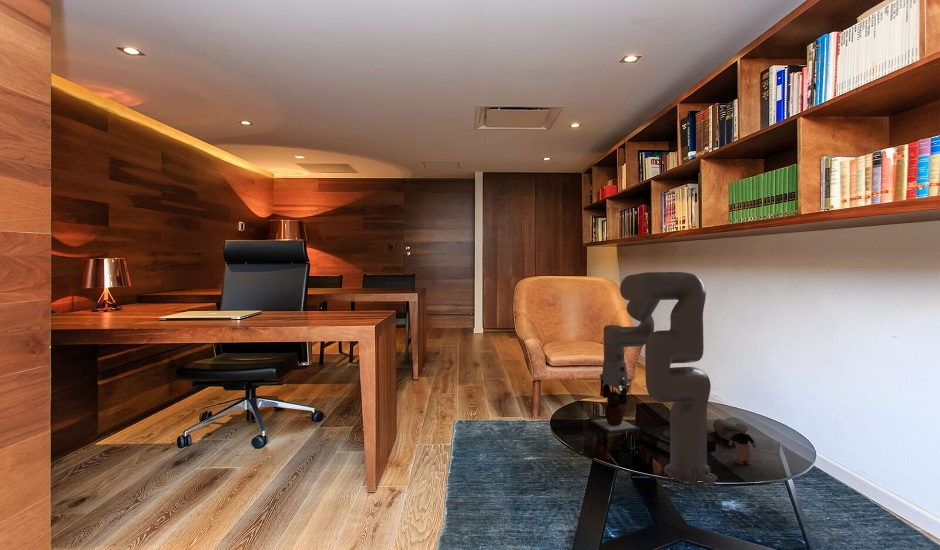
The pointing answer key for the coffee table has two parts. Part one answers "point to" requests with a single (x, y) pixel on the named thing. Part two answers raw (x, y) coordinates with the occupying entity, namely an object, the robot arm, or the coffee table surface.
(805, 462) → the coffee table surface
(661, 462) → the coffee table surface
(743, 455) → the toy figure
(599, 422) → the card
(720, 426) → the decorative bird
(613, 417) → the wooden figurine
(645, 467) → the coffee table surface
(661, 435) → the portable cd player
